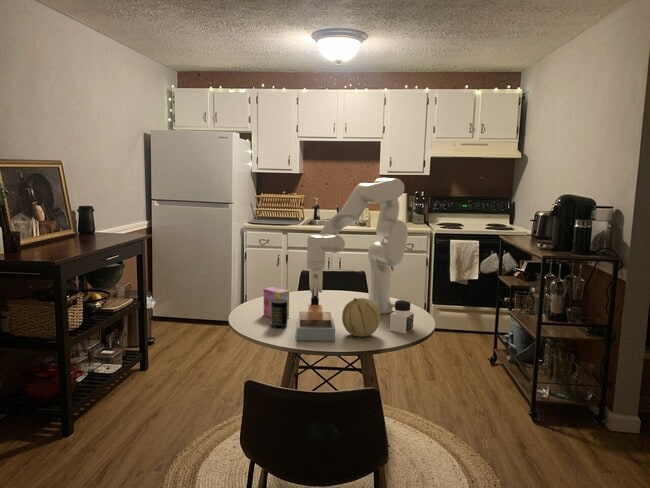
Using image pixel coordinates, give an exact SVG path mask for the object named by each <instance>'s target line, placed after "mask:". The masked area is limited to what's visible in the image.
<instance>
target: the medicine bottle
mask: <svg viewBox="0 0 650 488" xmlns="http://www.w3.org/2000/svg"><path fill="white" fill-rule="evenodd" d="M414 315H415V312H413V311H411V302H410V301H409V300H406V299H400V300H399V299H398V300H396V301H395V307H394V311H392V312H391V313H390V315H389V316H390V319H389V331H390V332H394V333H399V334H404V335H406V334H408V333H410V332H411V331H413V330H414V317H415V316H414Z"/></svg>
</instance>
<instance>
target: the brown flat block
mask: <svg viewBox="0 0 650 488" xmlns="http://www.w3.org/2000/svg"><path fill="white" fill-rule="evenodd" d="M322 312H323V315H322V320H308V311H303V310H302V311H301V310H299V311H298V313H299V314H298V318H300V326H327V327H331V319H333V318H332V314H331V313H332V312H330V311H322Z"/></svg>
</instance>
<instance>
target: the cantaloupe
mask: <svg viewBox="0 0 650 488" xmlns="http://www.w3.org/2000/svg"><path fill="white" fill-rule="evenodd" d="M381 319H382V318H381V314H380V311H379V309H378V307H377V306H376V304H375V303H373V302H372V301H371V300H369V298H366V297H359V298H356V297H354V298H353V300H352V299H351V300H350V301H349V302H348V303H346V304H345V306H344V308H343V310H342V316H341V321H342V322H341V323H342V324H343V327H344V328H345V330H346V331H347V333H348V334H351V335H353V336H355V337H360V338H362V337H369V336H371V335H372V334H374V333H375V332H376V331H377V329H378V328H379V326H380V324H381V321H382V320H381Z"/></svg>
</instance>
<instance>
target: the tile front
mask: <svg viewBox="0 0 650 488" xmlns="http://www.w3.org/2000/svg"><path fill="white" fill-rule="evenodd" d="M307 312H308V320H322V315H323V312H324V311H323V308H322V309H309V310H308V309H307Z"/></svg>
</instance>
